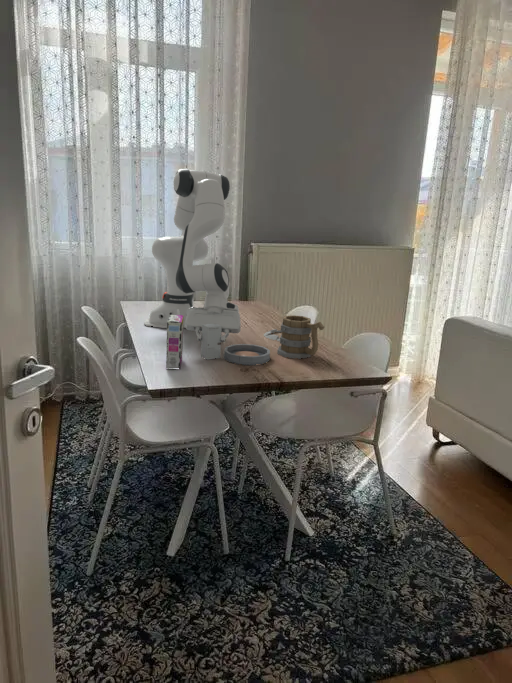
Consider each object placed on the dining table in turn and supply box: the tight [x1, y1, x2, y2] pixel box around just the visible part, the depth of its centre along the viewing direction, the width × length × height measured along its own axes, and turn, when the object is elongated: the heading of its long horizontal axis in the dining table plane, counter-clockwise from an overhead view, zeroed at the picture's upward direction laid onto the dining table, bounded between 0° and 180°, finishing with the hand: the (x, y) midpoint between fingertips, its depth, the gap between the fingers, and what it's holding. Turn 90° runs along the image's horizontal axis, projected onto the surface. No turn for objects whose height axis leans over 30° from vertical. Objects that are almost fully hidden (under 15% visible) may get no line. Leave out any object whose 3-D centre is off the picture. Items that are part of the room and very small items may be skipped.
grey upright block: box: [200, 324, 222, 360], centre depth 186 cm, size 6×4×12 cm
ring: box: [263, 328, 282, 342], centre depth 223 cm, size 19×19×2 cm
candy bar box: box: [165, 315, 184, 370], centre depth 175 cm, size 11×5×16 cm, turn 4°
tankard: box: [276, 314, 325, 360], centre depth 193 cm, size 20×13×15 cm, turn 36°
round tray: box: [223, 343, 271, 366], centre depth 188 cm, size 17×17×3 cm
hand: (211, 340), depth 185 cm, fingers closed on grey upright block, 7 cm apart
